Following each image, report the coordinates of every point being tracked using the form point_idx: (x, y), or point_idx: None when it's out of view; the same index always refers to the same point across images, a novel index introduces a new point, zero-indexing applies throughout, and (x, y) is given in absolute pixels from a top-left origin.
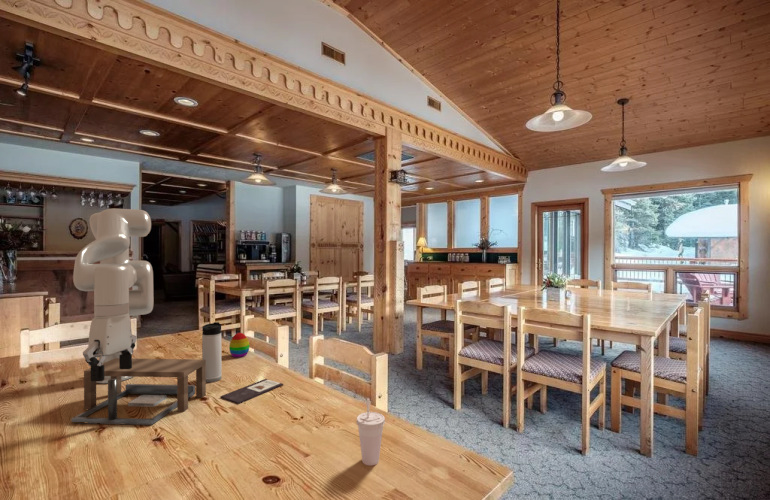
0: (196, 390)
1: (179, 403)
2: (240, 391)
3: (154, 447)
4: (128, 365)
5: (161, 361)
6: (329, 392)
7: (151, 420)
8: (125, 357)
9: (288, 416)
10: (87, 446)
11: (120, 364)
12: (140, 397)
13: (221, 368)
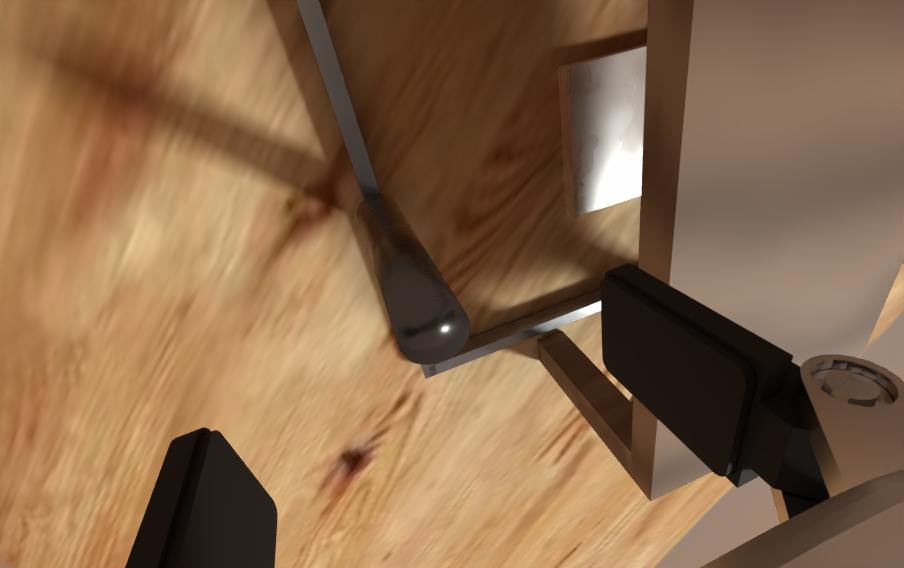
0: None
1: (554, 368)
2: None
3: (310, 493)
4: (627, 380)
5: (883, 207)
6: (678, 535)
7: (425, 375)
8: (709, 420)
9: (554, 564)
10: (180, 317)
11: (637, 311)
12: (637, 70)
13: None
